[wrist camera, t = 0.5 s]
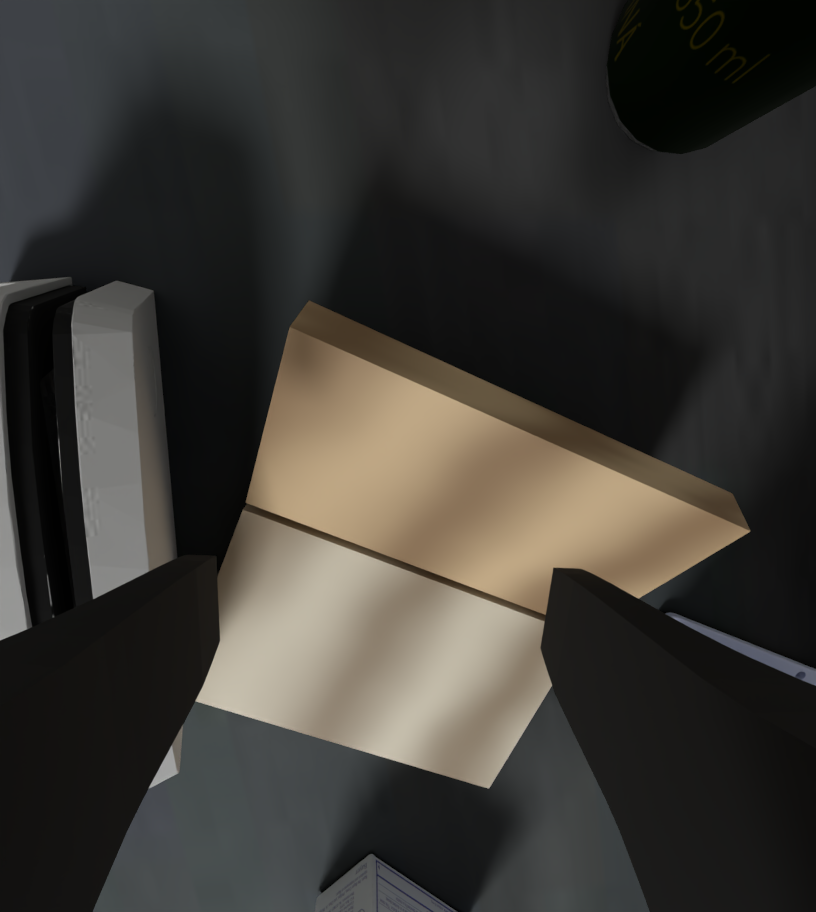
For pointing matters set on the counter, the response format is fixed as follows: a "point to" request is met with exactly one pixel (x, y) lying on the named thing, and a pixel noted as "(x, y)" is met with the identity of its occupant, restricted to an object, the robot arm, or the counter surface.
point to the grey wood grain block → (377, 892)
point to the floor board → (372, 651)
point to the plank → (469, 473)
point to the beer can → (706, 67)
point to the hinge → (80, 451)
